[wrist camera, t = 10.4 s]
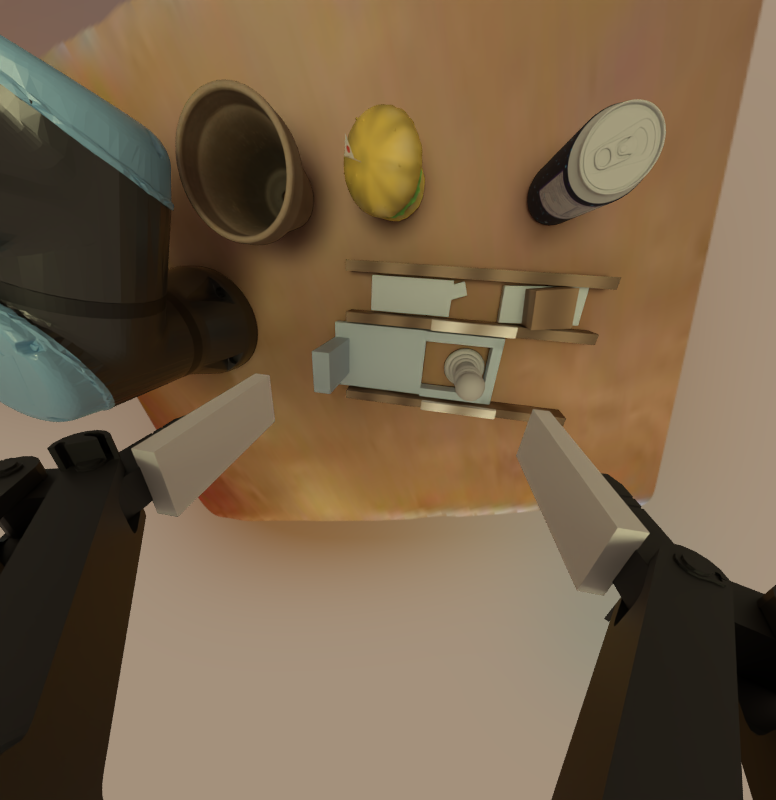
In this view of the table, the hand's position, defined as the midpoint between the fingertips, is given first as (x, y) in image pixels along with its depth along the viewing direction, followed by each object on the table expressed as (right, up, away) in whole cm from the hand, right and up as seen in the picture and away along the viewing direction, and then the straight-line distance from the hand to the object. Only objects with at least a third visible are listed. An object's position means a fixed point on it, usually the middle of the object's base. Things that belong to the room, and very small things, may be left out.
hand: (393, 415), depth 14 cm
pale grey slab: (+3, +6, +25) cm, 26 cm away
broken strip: (+11, +13, +20) cm, 27 cm away
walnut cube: (+18, +12, +18) cm, 28 cm away
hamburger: (+1, +25, +17) cm, 30 cm away
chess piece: (+10, +5, +24) cm, 27 cm away
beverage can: (+17, +22, +15) cm, 32 cm away
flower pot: (-12, +25, +19) cm, 34 cm away
